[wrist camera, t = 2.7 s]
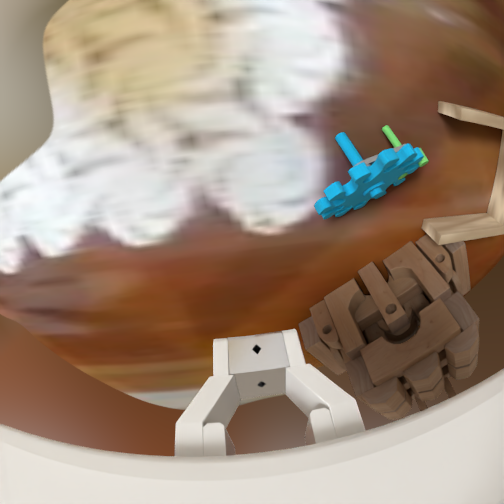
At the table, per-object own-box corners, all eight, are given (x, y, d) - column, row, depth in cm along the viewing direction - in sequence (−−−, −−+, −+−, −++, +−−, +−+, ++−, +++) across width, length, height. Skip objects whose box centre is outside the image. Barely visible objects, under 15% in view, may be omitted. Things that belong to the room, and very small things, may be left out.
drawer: (438, 100, 20) (467, 109, 17) (513, 120, 21) (537, 130, 17) (421, 228, 28) (442, 249, 25) (494, 219, 29) (513, 236, 25)
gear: (315, 236, 26) (334, 196, 16) (287, 181, 27) (288, 120, 17) (408, 191, 26) (455, 143, 16) (378, 143, 27) (410, 83, 17)
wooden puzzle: (441, 211, 28) (548, 324, 12) (456, 281, 35) (522, 376, 19) (287, 313, 34) (323, 465, 18) (336, 359, 41) (371, 468, 26)
